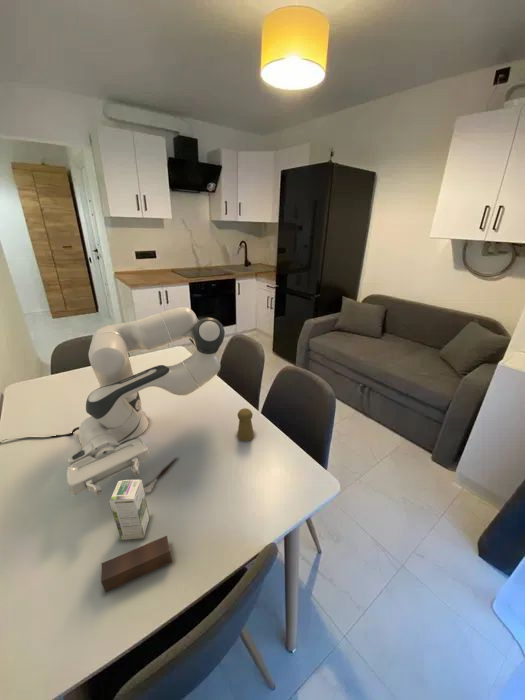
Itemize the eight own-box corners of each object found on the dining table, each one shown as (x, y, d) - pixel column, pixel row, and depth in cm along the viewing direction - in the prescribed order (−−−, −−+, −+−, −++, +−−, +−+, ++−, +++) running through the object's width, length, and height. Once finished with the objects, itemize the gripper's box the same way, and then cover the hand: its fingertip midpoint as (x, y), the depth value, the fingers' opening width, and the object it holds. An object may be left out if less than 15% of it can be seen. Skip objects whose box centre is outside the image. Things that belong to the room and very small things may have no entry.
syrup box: (128, 519, 77) (116, 479, 71) (151, 517, 77) (141, 478, 71) (120, 540, 72) (107, 500, 66) (144, 538, 72) (134, 498, 66)
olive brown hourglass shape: (251, 442, 103) (251, 417, 99) (235, 439, 104) (234, 415, 100) (255, 431, 109) (255, 407, 104) (239, 428, 110) (239, 405, 105)
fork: (179, 461, 96) (178, 456, 95) (143, 500, 82) (141, 495, 82) (173, 458, 97) (172, 454, 96) (136, 496, 83) (135, 491, 83)
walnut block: (105, 592, 62) (100, 581, 60) (105, 573, 65) (101, 563, 64) (172, 561, 67) (169, 551, 66) (169, 545, 71) (166, 535, 69)
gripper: (141, 444, 93) (158, 470, 83) (67, 478, 81) (77, 513, 71) (137, 428, 90) (155, 454, 80) (60, 461, 78) (70, 496, 68)
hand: (118, 482), depth 76 cm, fingers open, 8 cm apart
